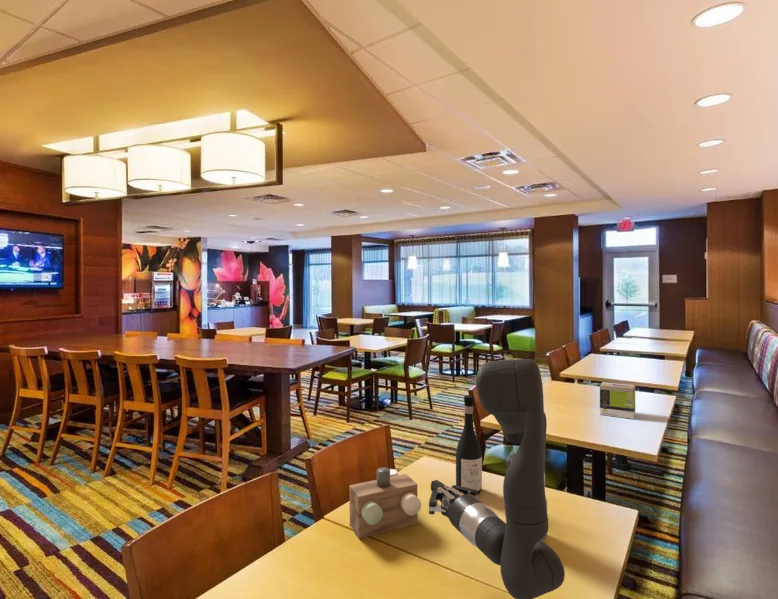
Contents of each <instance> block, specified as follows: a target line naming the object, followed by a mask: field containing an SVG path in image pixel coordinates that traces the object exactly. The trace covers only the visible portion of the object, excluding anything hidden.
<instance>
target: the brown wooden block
mask: <svg viewBox="0 0 778 599" xmlns="http://www.w3.org/2000/svg"><path fill="white" fill-rule="evenodd" d="M348 489H349V526H350V528H351V530H352V531H353V532H354V534H355V535H356V537H357V538H358V539H363V538H367V537H370V536H375V535H379V534H383V533H386V532H391V531H395V530H398V529H403V528H405V527H406V528H407V527H411V526H414V525H418V513H417V514H415V515H412V516H410V515H408V514H407V513H406V512H405V511H404V510H403V509H402V508H401V506H400V499H401V497H402V496H403V495H404V494H405V493H408V492H411V493H413V494H414V495H415V496H416V497H417V498H418V483H417V482H416V481H415V480H413V479H412V478H411V477H410V476H409V475H408V474H407V473H403V474H400V475H399V474H398V476H393V477H390V486H389V487H386V488H381V487H378V486H377V479H375V480H369V481H364V482H359V483H354V484H349V488H348ZM368 501H375V502H376V503H377V504H378V505H379V507H380V508H381V509H382V511H383V516H382V519H381V520H380V522H379V523H377V524H375V525H369V524H368V523H367V522H366V521H365V519H364V518H363V517H362V515H361V509H362V506H363V504H365V503H366V502H368Z"/></svg>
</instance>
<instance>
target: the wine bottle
mask: <svg viewBox="0 0 778 599" xmlns="http://www.w3.org/2000/svg"><path fill="white" fill-rule="evenodd" d="M474 401H475V397H474V396H473V395H471V394H470V395H469V394H467V395H464V396H463V404H464V422H463V423H464V424H463V429H462V433H461V434H460V435H461V436H460V438H459V440H458V443H457V446H456V452H455V485H457V486H461V487H466V488H470V489H475V490H477V495H478V494H480V493H481V491H482V488H483V453H482V450H481V445H480V443H479V440H478V437H477V434H476V432H475V428H474ZM459 492H460V493H461V491H459Z"/></svg>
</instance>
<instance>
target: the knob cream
mask: <svg viewBox="0 0 778 599" xmlns="http://www.w3.org/2000/svg"><path fill="white" fill-rule="evenodd" d="M400 506H401V508H402V509H403V510H404V511H405V512H406V513H407V514H408V515H410V516H412V515H415V514H417V515H418V513H419V512H420V510H421V508H422V502H421V499H420V498H419V497H418V496H417V497H416V496H415V495H414V494H413V493H411V492H408V493H405V494H404V495H403V496H402V497H401V499H400Z"/></svg>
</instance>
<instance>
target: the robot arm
mask: <svg viewBox="0 0 778 599" xmlns="http://www.w3.org/2000/svg"><path fill="white" fill-rule="evenodd" d="M475 387H476V388H475V389H476V394H477V396H478V400H479V403H480V405H481V406H482V408H483V410H484V411H486V413H488V414H489V415H492V416H493V417H494V419H495V420H496V422H497V423H498V424H499V425H500V427H501V431H502V432H501V433H502V436H503V437H504V440H506V441H507V442H509V443H511V444H518V445H519V446H518V449H516V452H515V453H512V454H511V455H509V457H508V458H507V469H506V473H505V475H504V478H503V479H504V480H503V487H502V488H503V489H502V492H503V493H502V494H503V495H502V496H503V504H504V505H503V506H504V513H505V515H504V516H505V521H504V520H503V519H502V518H500V517H499V516H498V514H497V513H495V512H494V510H492V509H491V508H489V507H488V506H487V505H486V504H485V503H484V502H482V501H481V500H480V499H479V498H478V494H477V490H475V489H470V488H466V487H461V486H457V485H456V484H453V485H451V486H449V485H445V484H444V483H443V482H442V481H439V479H435V480H432V481H431V483H430V491H431V494H430V498H429V500H428V513H429V515H435V514H436V512H437V513H441V515H442V516H444V517H446V518H447V519H448V520H449V522H450V524H451V525H452V526H453V527H454V528H455V529H456V530H457V531H458V532H459V533H460V534H461V535H462V536H463V537H464V538H465V539H466V540H467V542H469V543H470V544H471V545H472V546H474V547H476V548H477V549H478V550H479V551H480V552H481V553H482V554H483V555H484V556H485V557H487V558H488V560H490V561H491V562H492V563H494V564H495V565H497V566H500V575H501V579H502V583H503V585H504V588H505V590H506V591H507V593H508V594H509V595H510V596H511V597H512V598H513V599H536V598H538V597H541V596H543V595H546V594H548V593H551V592H553V591H555V590H558V589H559V588H561V586H562V585H563V583H564V582H565V575H566V574H565V566H564V564H563V562H562V560H561V558H560V557H559V555H558V553H557V552H556V551H555V550H554V549H553V548H552V547H551V546H550V545H549V544H547V543H546V542H544V541H545V540H546V538H547V537H548V532H549V517H548V500H547V497H546V443H547V442H546V440H547V438H546V437H547V424H548V423H547V416H546V412H545V409H544V408H545V404H544V388H543V380H542V374H541V371H540V368H539V365H538V363H537V362H536V361H535V360H534V359H531V358H521V359H504V360H492V361H491V360H490V361H486V362H485V363H483V364H481V365H480V367H479V369H478V371H477V373H476V378H475ZM459 491H461V493H460V492H459ZM438 501H439V502H440V504H439V502H438Z"/></svg>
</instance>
